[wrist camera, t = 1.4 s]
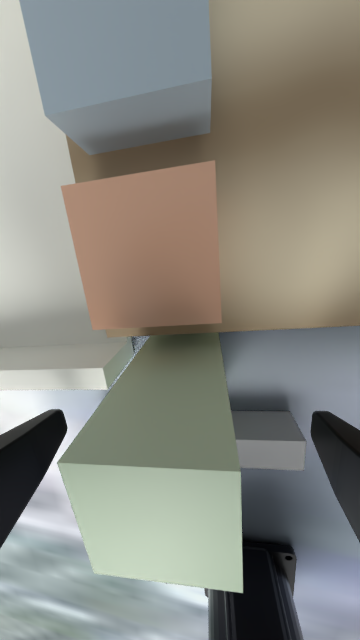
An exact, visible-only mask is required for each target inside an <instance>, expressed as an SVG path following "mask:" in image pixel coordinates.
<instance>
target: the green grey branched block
mask: <svg viewBox="0 0 360 640" xmlns="http://www.w3.org/2000/svg"><path fill="white" fill-rule="evenodd" d="M305 452H306V440H305V438H304V436H303V434H302V432H301V431H300V429H299V427H298V425H297V423H296V421H295V420H294V418H293V416H292V414H291V412H290V411H231V408H230V402H229V395H228V389H227V383H226V377H225V370H224V364H223V358H222V352H221V345H220V339H219V333H218V332H214V333H193V334H172V335H151V336H150V337H149V338H148V340H147V341H146V342H145V344H144V345H143V346H142V348H141V349H140V350H139V352H138V353H137V355H136V356H135V357H134V359H133V360H132V361H131V363H130V364H129V365H128V367H127V368H126V370H125V371H124V372H123V374H122V375H121V376H120V378H119V379H118V380H117V382H116V383H115V385H114V386H113V387H112V389H111V390H110V391H109V393H108V394H107V395H106V397H105V398H104V400H103V401H102V402H101V404H100V405H99V406H98V408H97V409H96V410H95V412H94V413H93V415H92V416H91V417H90V419H89V420H88V421H87V423H86V424H85V425H84V427H83V428H82V430H81V431H80V432H79V434H78V435H77V436H76V438H75V439H74V440H73V442H72V443H71V445H70V446H69V447H68V449H67V450H66V451H65V453H64V454H63V455H62V457H61V458H60V460H59V461H58V462H57V464H58V467H59V470H60V473H61V476H62V479H63V482H64V485H65V488H66V491H67V494H68V497H69V500H70V503H71V506H72V509H73V512H74V515H75V518H76V521H77V524H78V527H79V530H80V532H81V535H82V538H83V541H84V544H85V547H86V550H87V553H88V556H89V559H90V562H91V565H92V568H93V571H94V574H102V575H109V576H117V577H124V578H132V579H140V580H147V581H155V582H162V583H170V584H178V585H185V586H193V587H200V588H208V589H215V590H223V591H231V592H238V593H243V564H242V511H241V470H240V468H255V469H276V470H298V471H304V463H305Z"/></svg>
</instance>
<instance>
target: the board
mask: <svg viewBox="0 0 360 640" xmlns="http://www.w3.org/2000/svg"><path fill="white" fill-rule="evenodd" d="M209 24H210V49H211V73H212V86H211V120H210V133H206V134H201V135H196V136H190V137H185V138H180V139H174V140H169V141H163V142H158V143H153V144H147V145H142V146H137V147H131V148H126V149H121V150H115V151H110V152H104V153H99V154H94V155H89V154H88V153H86V152H85V151H84V150H83V149H82V148H81V147H80V146H79V145H77V144H76V143H75V142H74V141H73V140H72V139H71V138H70V137H68V136H67V135H66V139H67V144H68V149H69V154H70V159H71V164H72V169H73V173H74V178H75V183H81V182H87V181H93V180H99V179H105V178H111V177H117V176H123V175H129V174H135V173H141V172H147V171H153V170H159V169H165V168H171V167H177V166H183V165H189V164H195V163H201V162H207V161H213V160H215V170H216V194H217V218H218V243H219V267H220V291H221V315H222V323H215V324H197V325H178V326H159V327H141V328H122V329H105V330H106V334H107V338H109V337H130V336H151V335H172V334H193V333H214V332H235V331H256V330H277V329H298V328H320V327H341V326H360V0H209Z"/></svg>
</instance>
